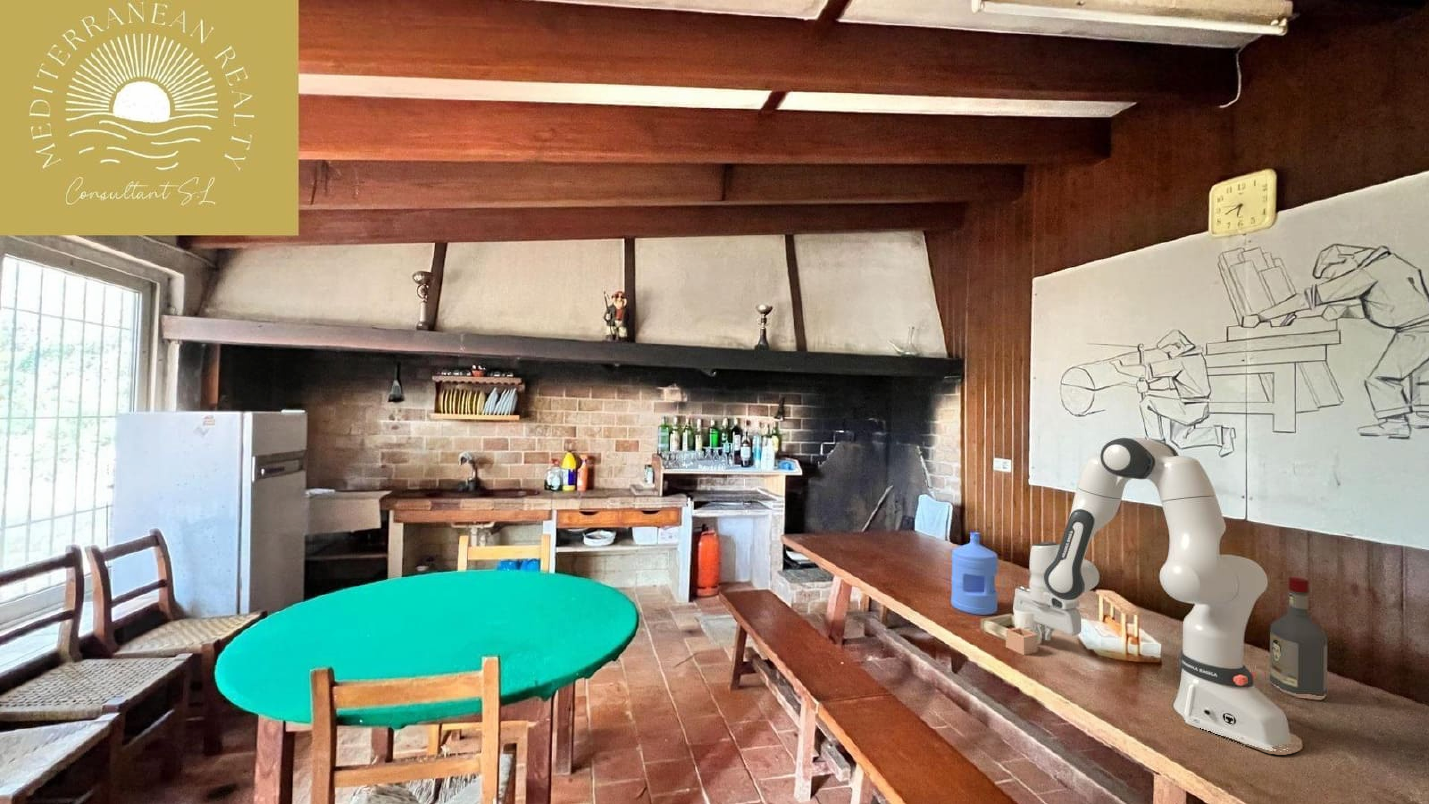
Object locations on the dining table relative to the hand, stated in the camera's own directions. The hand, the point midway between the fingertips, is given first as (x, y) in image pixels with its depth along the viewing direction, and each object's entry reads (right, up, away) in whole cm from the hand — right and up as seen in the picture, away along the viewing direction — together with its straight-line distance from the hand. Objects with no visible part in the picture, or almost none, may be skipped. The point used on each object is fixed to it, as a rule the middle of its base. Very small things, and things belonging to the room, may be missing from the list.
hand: (1045, 639), depth 173 cm
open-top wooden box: (-8, -3, -2) cm, 9 cm away
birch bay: (-5, -3, +10) cm, 12 cm away
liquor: (+53, -4, -24) cm, 58 cm away
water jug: (-6, -4, +35) cm, 36 cm away
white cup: (-2, -3, +5) cm, 6 cm away
